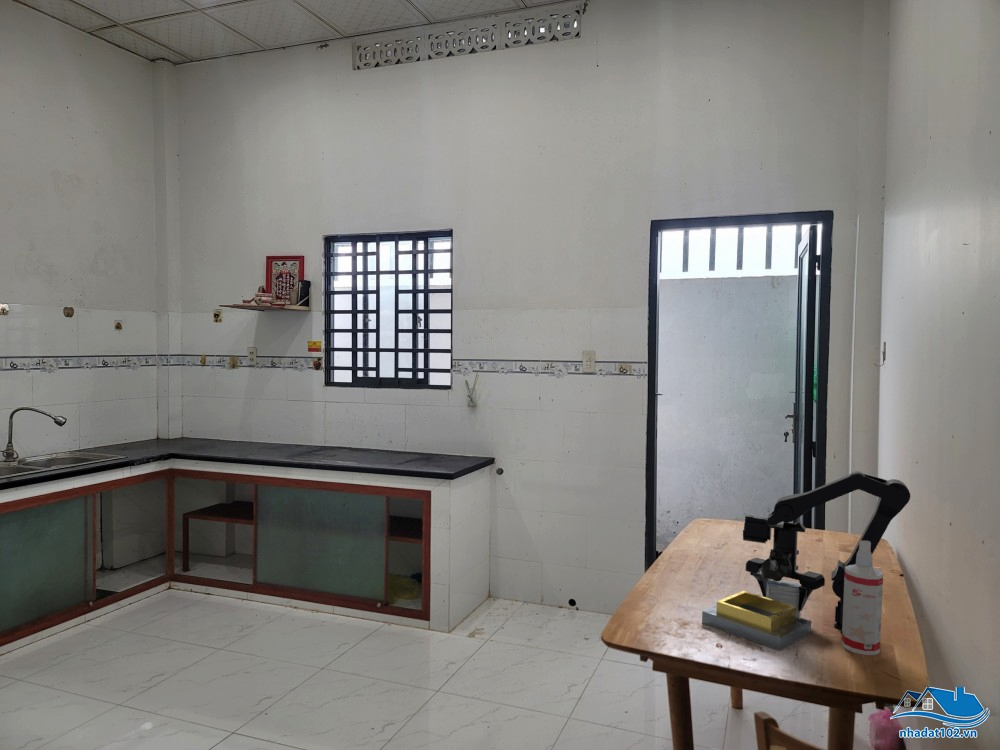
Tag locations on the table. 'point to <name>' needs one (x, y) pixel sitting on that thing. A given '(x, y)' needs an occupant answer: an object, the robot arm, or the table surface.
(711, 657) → the table surface
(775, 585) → the medicine box
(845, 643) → the white squeeze bottle
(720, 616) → the gold and grey tray
